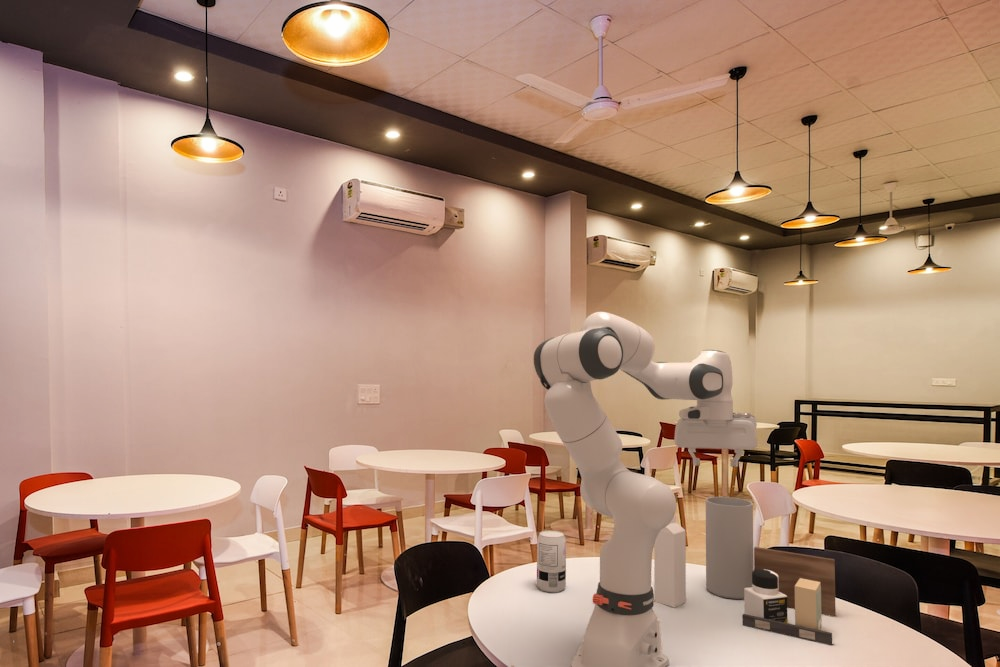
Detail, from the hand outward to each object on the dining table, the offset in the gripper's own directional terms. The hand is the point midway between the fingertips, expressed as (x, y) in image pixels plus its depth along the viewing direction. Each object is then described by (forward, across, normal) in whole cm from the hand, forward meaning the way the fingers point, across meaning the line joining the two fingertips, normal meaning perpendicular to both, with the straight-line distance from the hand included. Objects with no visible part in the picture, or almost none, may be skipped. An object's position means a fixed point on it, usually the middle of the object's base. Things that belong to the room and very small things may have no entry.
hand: (715, 466), depth 153 cm
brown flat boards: (+37, -17, +1) cm, 41 cm away
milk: (+37, +11, -6) cm, 39 cm away
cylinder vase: (+37, -7, -16) cm, 41 cm away
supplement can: (+37, +42, -11) cm, 58 cm away
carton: (+37, -20, +7) cm, 43 cm away
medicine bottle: (+37, -11, +3) cm, 39 cm away
